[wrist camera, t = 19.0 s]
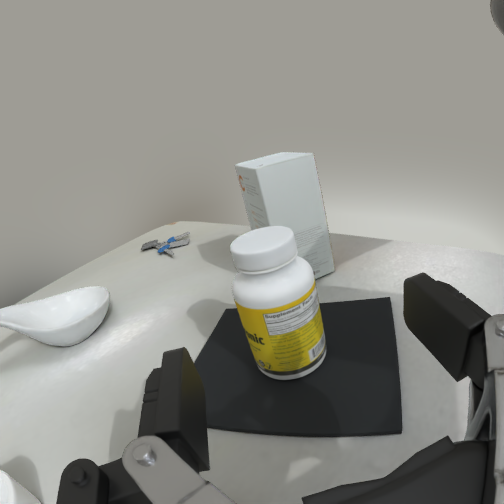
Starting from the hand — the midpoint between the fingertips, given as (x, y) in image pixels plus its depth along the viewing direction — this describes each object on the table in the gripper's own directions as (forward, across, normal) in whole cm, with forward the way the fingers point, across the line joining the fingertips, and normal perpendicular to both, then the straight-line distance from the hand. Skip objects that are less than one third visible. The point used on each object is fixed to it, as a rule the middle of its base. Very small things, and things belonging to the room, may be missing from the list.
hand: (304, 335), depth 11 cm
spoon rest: (+21, +29, +10) cm, 37 cm away
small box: (+24, -4, +10) cm, 27 cm away
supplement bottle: (+10, 0, +10) cm, 14 cm away
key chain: (+48, +13, +10) cm, 50 cm away
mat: (+10, 0, +10) cm, 14 cm away
